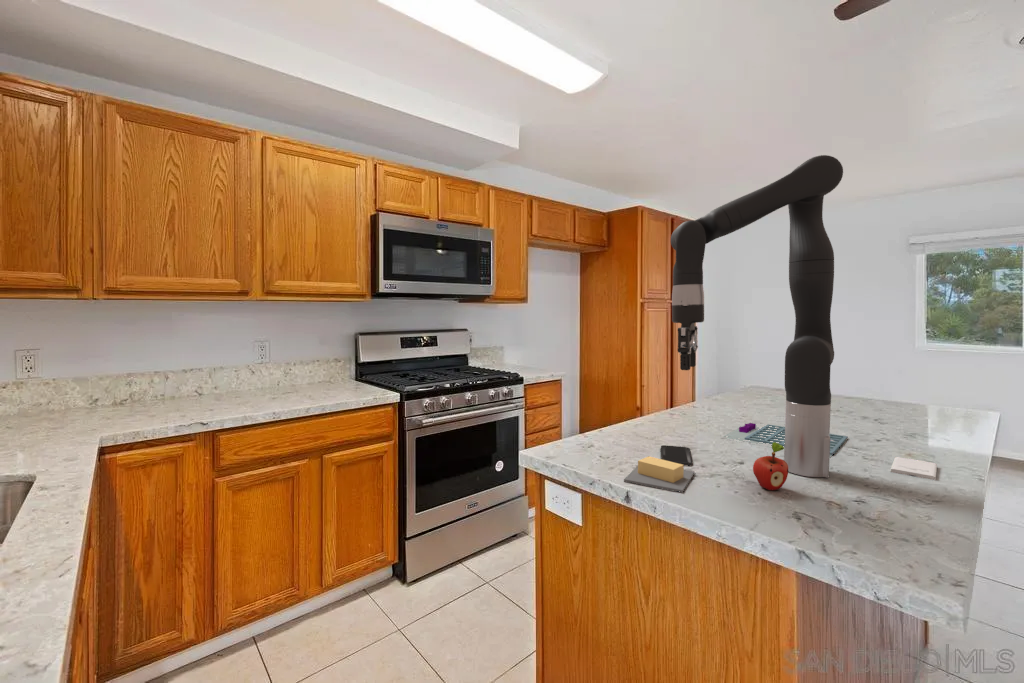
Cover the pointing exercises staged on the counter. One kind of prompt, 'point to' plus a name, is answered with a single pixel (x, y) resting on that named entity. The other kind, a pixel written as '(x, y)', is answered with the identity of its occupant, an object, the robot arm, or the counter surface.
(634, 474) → the mat
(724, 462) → the counter surface
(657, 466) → the card box
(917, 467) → the external hard drive
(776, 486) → the apple
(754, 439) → the calendar
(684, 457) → the phone
